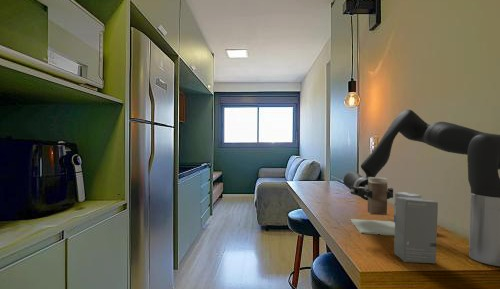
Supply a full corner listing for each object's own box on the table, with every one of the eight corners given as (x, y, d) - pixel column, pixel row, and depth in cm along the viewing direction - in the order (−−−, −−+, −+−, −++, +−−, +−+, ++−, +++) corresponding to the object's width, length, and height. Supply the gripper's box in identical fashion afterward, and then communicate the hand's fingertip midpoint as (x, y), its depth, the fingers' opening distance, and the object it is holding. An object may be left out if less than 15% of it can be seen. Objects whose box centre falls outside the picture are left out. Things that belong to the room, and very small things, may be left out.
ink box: (393, 221, 119) (394, 192, 119) (403, 221, 121) (404, 191, 121) (410, 227, 111) (411, 195, 111) (421, 226, 113) (422, 195, 113)
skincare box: (403, 262, 76) (405, 200, 76) (392, 252, 83) (393, 195, 83) (438, 264, 75) (440, 201, 75) (423, 254, 82) (425, 196, 83)
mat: (393, 223, 117) (393, 221, 117) (411, 236, 99) (411, 235, 99) (350, 220, 119) (350, 218, 119) (360, 233, 101) (360, 231, 101)
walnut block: (382, 212, 95) (383, 177, 96) (386, 215, 91) (387, 178, 91) (367, 211, 96) (368, 177, 96) (371, 214, 92) (372, 178, 92)
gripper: (345, 176, 109) (355, 181, 92) (387, 178, 107) (405, 183, 90) (345, 197, 109) (355, 206, 92) (386, 199, 107) (404, 208, 90)
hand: (379, 195), depth 91 cm, fingers closed on walnut block, 4 cm apart
